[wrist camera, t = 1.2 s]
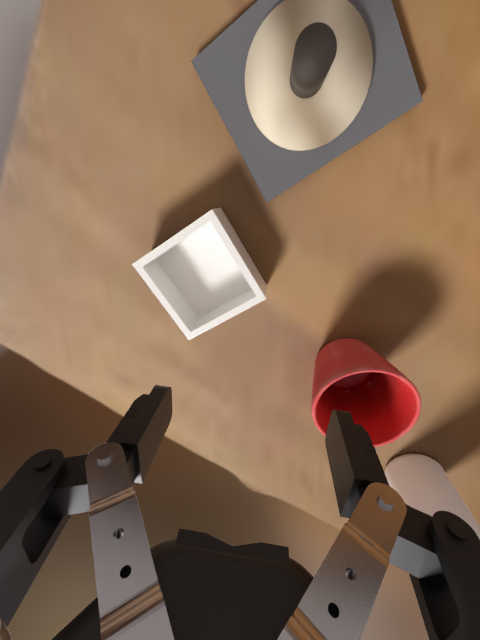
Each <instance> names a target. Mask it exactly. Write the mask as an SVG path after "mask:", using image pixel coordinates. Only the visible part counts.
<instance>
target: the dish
mask: <svg viewBox="0 0 480 640" xmlns="http://www.w3.org/2000/svg"><path fill="white" fill-rule="evenodd" d="M132 265H133V266H134V268H135V269H136V270H137V272H138V273H139V274H140V276H141V277H142V278H143V280H144V281H145V282H146V284H147V285H148V286H149V288H150V289H151V290H152V292H153V293H154V294H155V296H156V297H157V298H158V300H159V301H160V302H161V304H162V305H163V306H164V308H165V309H166V310H167V312H168V313H169V314H170V316H171V317H172V318H173V320H174V321H175V322H176V324H177V325H178V326H179V328H180V329H181V330H182V332H183V333H184V334H185V336H186V337H187V338H188V340H190V339H192V338H194V337H196V336H198V335H200V334H202V333H203V332H205V331H207V330H209V329H211V328H213V327H215V326H217V325H218V324H220V323H222V322H224V321H226V320H228V319H230V318H232V317H233V316H235V315H237V314H239V313H241V312H243V311H245V310H247V309H248V308H250V307H252V306H254V305H256V304H258V303H260V302H262V301H263V300H265V299H266V294H267V285H266V283H265V281H264V279H263V278H262V276H261V274H260V273H259V271H258V269H257V268H256V266H255V264H254V263H253V261H252V259H251V258H250V256H249V254H248V252H247V251H246V249H245V247H244V246H243V244H242V242H241V241H240V239H239V237H238V236H237V234H236V232H235V231H234V229H233V227H232V225H231V224H230V222H229V220H228V219H227V217H226V215H225V214H224V212H223V210H222V209H221V207H219V208H215V209H212V210H210V211H209V212H207V213H206V214H205V215H203V216H202V217H200V218H199V219H197V220H196V221H194V222H193V223H191V224H190V225H189V226H187V227H186V228H184V229H183V230H181V231H180V232H178V233H177V234H175V235H174V236H173V237H171V238H170V239H168V240H167V241H165V242H164V243H162V244H161V245H160V246H158V247H157V248H155V249H154V250H152V251H151V252H149V253H148V254H146V255H145V256H144V257H142V258H141V259H139V260H138V261H136V262H135V263H133V264H132Z"/></svg>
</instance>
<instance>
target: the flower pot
mask: <svg viewBox="0 0 480 640" xmlns="http://www.w3.org/2000/svg"><path fill="white" fill-rule="evenodd" d="M333 410H340V411H348V412H350V413H351V415H352V418H353V421H354V424H360V425H362V426H363V428H364V429H365V430H366V431H367V432H368V433H369V435H370V438H371V440H372V443H373V446H374V447H377V446H381V445H385V444H387V443H390V442H393V441H395V440H397V439H398V438H400V437H402V436H403V435H404V434H406V433H407V432H408V431H409V430H410V429H411V428H412V427H413V426H414V424H415V423H416V421H417V419H418V417H419V414H420V410H421V398H420V395H419V392H418V390H417V388H416V387H415V386H414V384H413V383H412V382H411V381H410V380H409V379H408V378H407V377H406V376H405V375H404V374H402V373H401V372H400V371H399V370H398V369H397V368H395V367H394V366H393V365H392V364H391V363H389V362H388V361H387V360H386V359H385V358H383V357H382V356H381V355H380V354H378V353H377V352H376V351H374V350H373V349H372V348H370V347H369V346H368V345H367V344H365V343H364V342H362V341H360V340H357V339H352V338H342V339H337V340H334V341H332V342H330V343H329V344H327V345H325V346H324V347H323V348H322V349H321V350H320V352H319V353H318V355H317V357H316V361H315V369H314V378H313V390H312V406H311V411H312V417H313V420H314V423H315V425H316V426H317V428H318V429H319V430H320V432H321V433H322V434H324V435H325V436H326V432H327V428H328V424H329V421H330V417H331V414H332V411H333Z"/></svg>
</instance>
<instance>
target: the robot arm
mask: <svg viewBox="0 0 480 640" xmlns="http://www.w3.org/2000/svg"><path fill="white" fill-rule="evenodd" d="M171 417H172V390H171V387H166V386H159V385H156V386H154V388H153V390H152V391H151V393H150V394H149V395H147V394H143V395H141V396H140V397H139V398H137V399H136V400H135V401H134V402H133V404H132V405H131V407H130V408H129V410H128V411H127V413H126V414H125V416H124V417H123V418H122V420H121V421H120V423H119V424H118V426H117V427H116V429H115V430H114V432H113V433H112V435H111V436H110V438H109V439H108V441H107V442H106V443H103V444H101V445H98V446H96V447H95V448H94V449H92V450H91V451H90V452H89V454H87V455H82V456H75V457H68V458H64V455H63V453H62V452H61V451H59V450H56V449H48V450H44V451H41V452H39V453H37V454H35V455H33V456H32V457H30V458H29V459H28V460H27V461H26V462H25V463H24V464H23V465H22V466H21V468H20V469H19V470H18V471H17V472H16V473H15V475H14V476H13V477H12V478H11V479H10V481H9V482H8V483H7V484H6V485H5V486H4V487H3V489H2V490H1V491H0V640H11V634H10V632H9V630H8V628H7V626H8V625H9V623H10V621H11V619H12V618H13V616H14V614H15V612H16V611H17V609H18V607H19V605H20V603H21V602H22V600H23V598H24V596H25V595H26V593H27V591H28V590H29V588H30V586H31V584H32V582H33V581H34V579H35V577H36V575H37V574H38V572H39V570H40V569H41V566H42V565H43V563H44V562H45V560H46V558H47V556H48V554H49V553H50V551H51V549H52V548H53V546H54V544H55V542H56V540H57V539H58V537H59V535H60V534H61V532H62V530H63V528H64V526H65V525H66V523H67V521H68V520H69V518H70V516H71V514H76V513H82V512H87V511H89V517H90V527H91V537H92V545H93V546H92V547H93V556H94V565H95V575H96V585H97V595H98V597H97V598H96V599H94V601H92V602H91V603H90V604H89V605H88V606H87V607H86V608H85V609H84V610H83V611H82V612H81V613H80V614H78V615H77V616H76V617H75V618H74V619H73V620H72V621H71V622H70V623H69V624H68V625H67V626H66V627H64V629H62V630H61V631H60V632H59V633H58V634H57V635H56V636H55V637H54V638H53V639H52V640H360V639H361V636H362V633H363V631H364V628H365V625H366V622H367V620H368V617H369V615H370V612H371V610H372V607H373V604H374V601H375V599H376V596H377V594H378V591H379V588H380V585H381V583H382V580H383V578H384V575H385V573H386V570H387V567H388V564H389V563H391V564H392V565H394V566H396V567H398V568H400V569H402V570H404V571H406V572H408V573H409V575H410V578H411V581H412V584H413V588H414V591H415V594H416V597H417V601H418V604H419V607H420V610H421V614H422V617H423V620H424V623H425V626H426V630H427V633H428V636H429V640H480V539H479V537H478V536H477V534H476V533H475V531H474V530H473V529H472V528H471V526H470V525H469V524H468V523H466V522H465V521H464V520H463V519H462V518H460V517H459V516H457V515H455V514H453V513H451V512H448V511H437V512H435V513H434V515H433V516H430V515H428V514H426V513H423V512H421V511H419V510H417V509H414V508H412V507H410V506H409V505H407V504H405V502H404V500H403V498H402V497H401V496H400V495H399V493H398V492H397V491H395V490H394V489H393V488H391V487H390V486H389V483H388V481H387V478H386V476H385V473H384V471H383V468H382V466H381V463H380V461H379V458H378V455H377V454H376V450H375V448H374V446H373V443H372V440H371V438H370V435H369V433H368V432H367V431H366V430H365V429H364V428H363V426H362V425H360V424H354V421H353V418H352V415H351V413H350V412H348V411H340V410H333V411H332V414H331V417H330V421H329V424H328V428H327V432H326V439H325V442H326V449H327V454H328V459H329V464H330V469H331V474H332V478H333V483H334V488H335V493H336V498H337V503H338V508H339V513H340V517H346V518H349V520H348V522H347V523H345V524H344V526H343V528H342V529H341V531H340V533H339V535H338V536H337V538H336V540H335V542H334V543H333V545H332V547H331V549H330V550H329V552H328V554H327V556H326V558H325V559H324V561H323V563H322V564H321V566H320V568H319V570H318V571H317V573H316V575H315V577H313V576H312V575H311V574H310V573H309V572H308V571H307V570H306V569H305V568H304V567H303V566H302V565H300V564H299V563H298V562H296V561H295V560H293V559H291V558H289V551H288V547H284V546H278V545H272V544H267V543H254V544H247V545H240V546H230V545H228V544H226V543H224V542H222V541H220V540H218V539H216V538H214V537H212V536H210V535H209V534H207V533H202V532H196V531H191V530H185V529H179V532H178V536H177V538H174V539H169V540H166V541H164V542H161V543H159V544H157V545H155V546H153V547H152V548H150V547H149V543H148V539H147V536H146V532H145V528H144V524H143V520H142V516H141V512H140V508H139V504H138V501H137V497H136V493H135V490H134V489H133V486H132V485H133V483H134V482H136V483H143V480H144V478H145V476H146V474H147V472H148V469H149V467H150V465H151V463H152V461H153V459H154V456H155V454H156V452H157V450H158V447H159V445H160V443H161V441H162V439H163V437H164V434H165V432H166V430H167V428H168V426H169V423H170V421H171Z"/></svg>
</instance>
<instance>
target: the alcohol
mask: <svg viewBox="0 0 480 640" xmlns="http://www.w3.org/2000/svg"><path fill="white" fill-rule="evenodd" d="M384 473H385V476H386V478H387V481H388V483H389V486H390V487H391V488H393V489H394V490H395V491H397V492H398V493H399V495H400V496H401V497H402V498H403V500H404V502H405V504H407V505H409V506H410V507H412V508H414V509H417V510H419V511H421V512H423V513H426V514H428V515H430V516H433V515H434V513H435V512H437V511H448V512H451V513H453V514H455V515H457V516H459V517H460V518H462V519H463V520H464V521H465V522H466V523H468V524H469V525H470V526H471V528H472V529H473V530H474V531H475V533H476V534H477V536H478V537H479V539H480V527H479V525H478V524H477V522H476V521H475V519H474V517H473V516H472V514H471V513H470V511H469V509H468V508H467V506H466V505H465V503H464V501H463V500H462V498H461V497H460V495H459V493H458V492H457V490H456V489H455V487H454V485H453V484H452V482H451V481H450V479H449V478H448V476H447V474H446V473H445V471H444V470H443V468H442V466H441V465H440V464H439V463H438V462H437V461H435V460H433V459H432V458H430V457H428V456H425V455H422V454H414V453H413V454H405V455H401V456H398V457H396V458H394V459H393V460H391V461H390V462H389V463H388V465H387V466H386V469H385V472H384Z"/></svg>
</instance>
